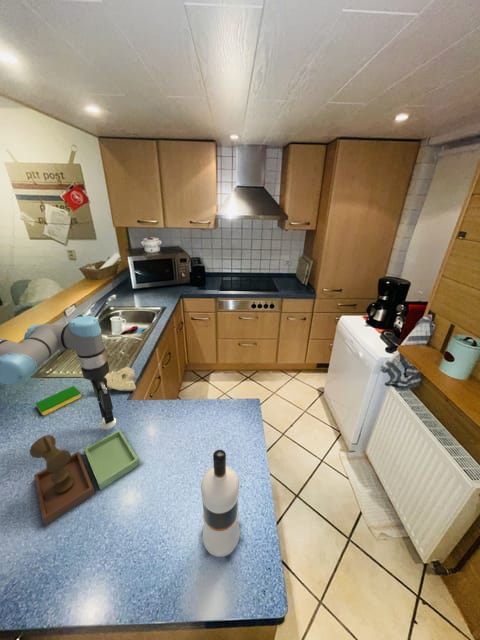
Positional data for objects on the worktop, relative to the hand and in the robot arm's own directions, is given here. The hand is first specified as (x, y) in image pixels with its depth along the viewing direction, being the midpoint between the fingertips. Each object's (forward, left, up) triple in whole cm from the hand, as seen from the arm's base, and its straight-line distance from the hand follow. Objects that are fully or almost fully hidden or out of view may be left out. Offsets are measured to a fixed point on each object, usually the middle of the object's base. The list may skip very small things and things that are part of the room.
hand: (108, 418), depth 89 cm
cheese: (-21, +9, -6) cm, 23 cm away
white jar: (0, 0, -3) cm, 3 cm away
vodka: (+52, +9, -6) cm, 53 cm away
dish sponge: (-29, -11, -6) cm, 31 cm away
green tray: (+12, -4, -6) cm, 14 cm away
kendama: (+12, -17, -5) cm, 21 cm away
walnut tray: (+12, -17, -6) cm, 22 cm away
